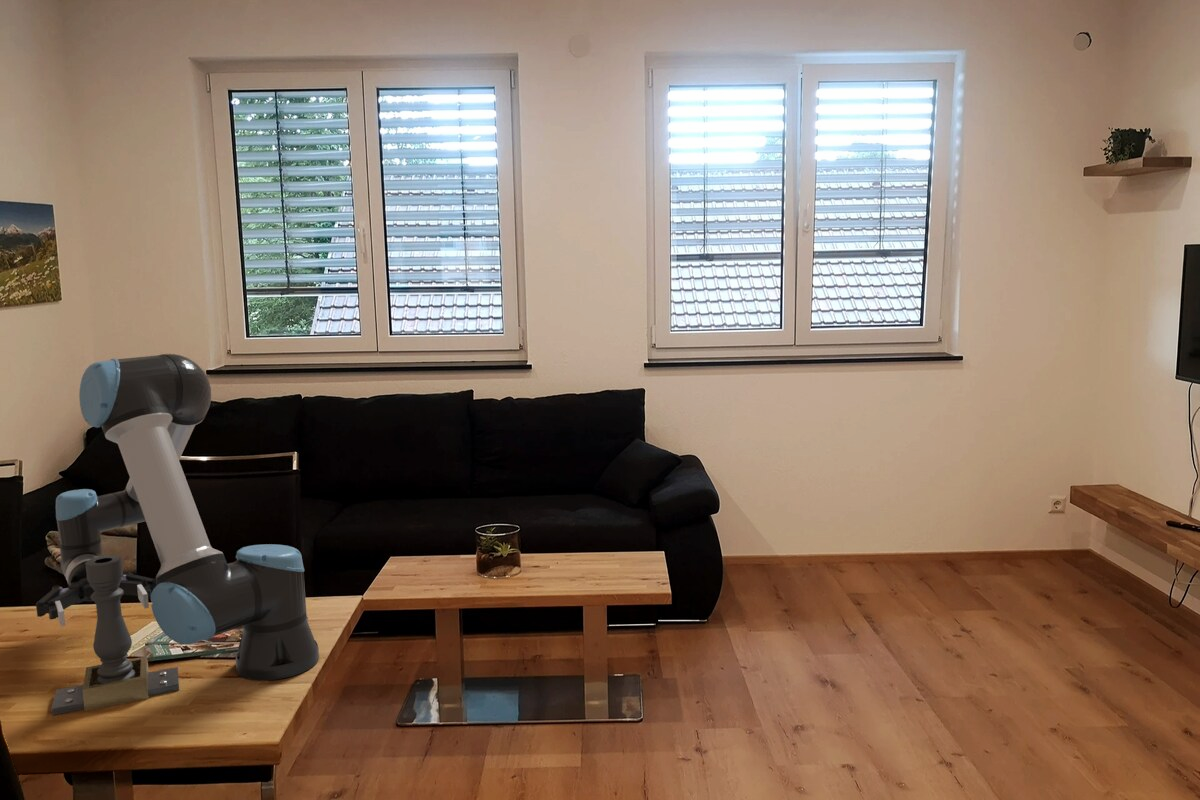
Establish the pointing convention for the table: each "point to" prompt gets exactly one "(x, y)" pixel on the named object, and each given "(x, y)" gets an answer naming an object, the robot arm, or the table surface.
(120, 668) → the candle holder
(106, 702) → the square socket fixture
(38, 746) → the table surface
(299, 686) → the table surface
